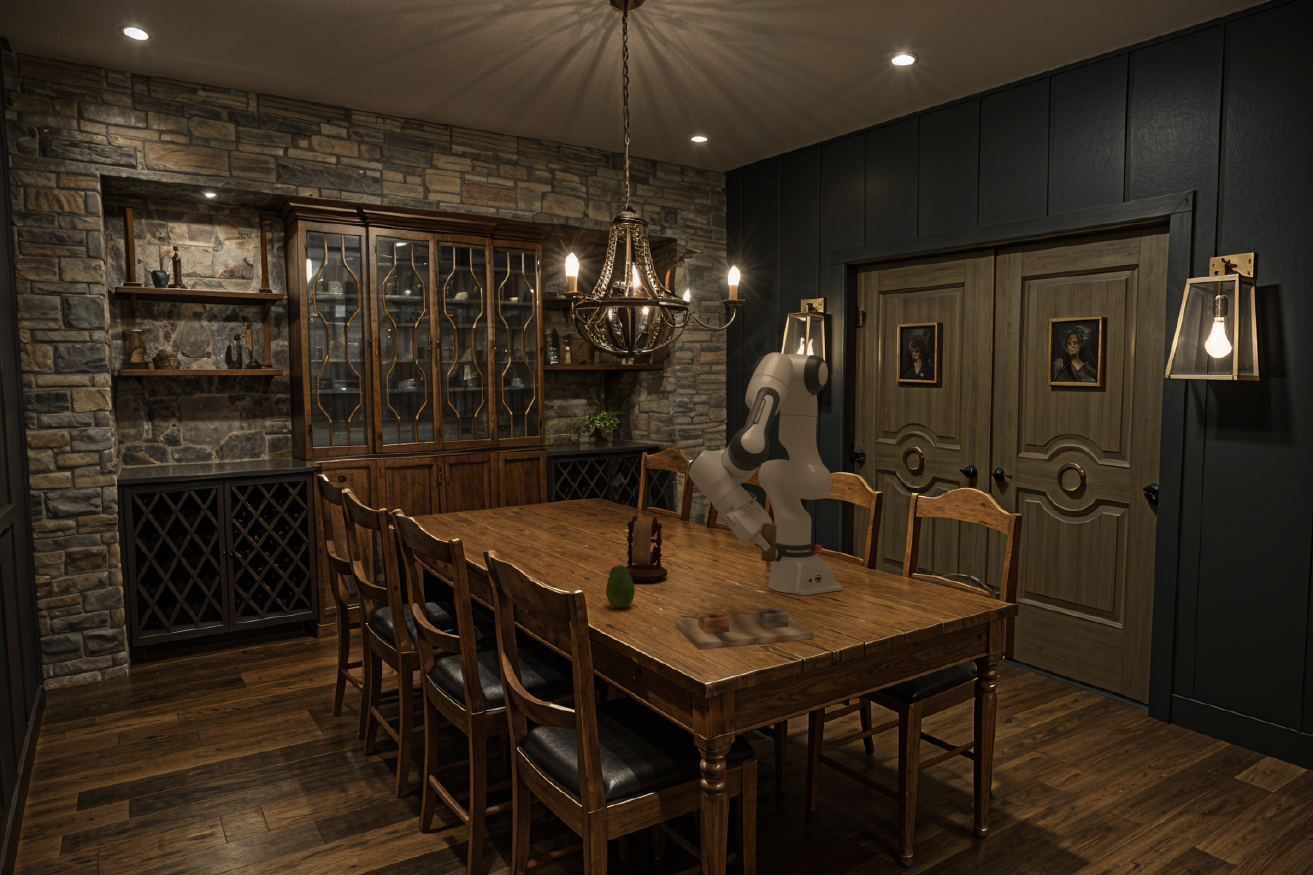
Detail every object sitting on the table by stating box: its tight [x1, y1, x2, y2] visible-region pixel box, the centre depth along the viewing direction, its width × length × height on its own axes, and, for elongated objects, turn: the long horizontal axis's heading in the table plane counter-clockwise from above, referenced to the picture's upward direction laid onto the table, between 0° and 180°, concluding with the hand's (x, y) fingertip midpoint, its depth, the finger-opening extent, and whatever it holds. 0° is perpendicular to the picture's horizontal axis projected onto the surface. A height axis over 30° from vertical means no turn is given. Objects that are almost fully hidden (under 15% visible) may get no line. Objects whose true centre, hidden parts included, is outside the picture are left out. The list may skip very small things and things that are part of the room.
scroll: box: [625, 515, 668, 585], centre depth 252 cm, size 15×15×20 cm
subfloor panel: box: [675, 607, 815, 650], centre depth 201 cm, size 30×18×5 cm, turn 107°
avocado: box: [605, 564, 636, 609], centre depth 220 cm, size 8×8×12 cm
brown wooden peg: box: [760, 523, 777, 573], centre depth 201 cm, size 4×4×12 cm
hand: (771, 546), depth 201 cm, fingers closed on brown wooden peg, 4 cm apart
